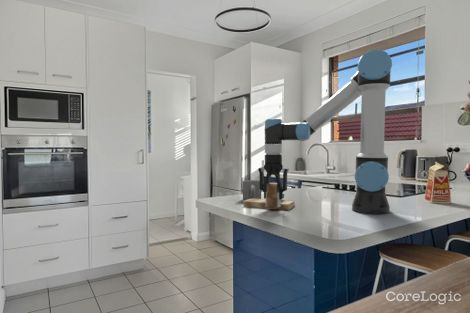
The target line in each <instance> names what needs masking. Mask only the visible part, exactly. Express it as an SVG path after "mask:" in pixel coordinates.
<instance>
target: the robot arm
mask: <svg viewBox="0 0 470 313" xmlns="http://www.w3.org/2000/svg"><path fill="white" fill-rule="evenodd" d="M392 61H393V60H392V59H391V56H390V55H389V53H388V52H386V51H385V50H382V49H379V48H377V49H372V50H368V51H366V52H365V53H363V55H361V56H360V58H359V60H358V62H357V71H356V73H355V74H354V75H353V76H352V77H351V78H350V80H349V82H348V83H347V84H345V85H344V86H343V87H342V88H341V89H339V90H338V91H337V92H336V93H335V94H333V95H332V96H331V97H330V98H329V99H328V100H326V101H325V102H324V103H323V104H322V105H320V106H319V107H318V108H316V109H315V111H313V112H312V113H311V114H310V115H308V116H307V117H306V118H305V119H303V120H302V121H301V122H287V123H286V122H283V120H282V119H281V118H267V119H266V120H265V122H264V153H265V154H264V166H263V167H259V168H258V169H257V170H258V173H259V181H260V190H261V191H263V199H266V207H267V183H271V178H272V176H274V177H275V181H276V183H277V185H278V189H279V192H278V193H277V207H278V208H279V207H281V200H284V198H283V194H284V192H286V191H287V190H288V173H289V171H290V170H289V168H286V167H284V166H283V155H282V152H283V141H299V142H304V141H309V140H310V138H311V136H312V135H313V134H314V133H316V132H317V131H318V130H320V129H321V128H322V127H323V126H324V125H326V124H327V123H328V122H330V121H331V120H332V119H333V118H335V117H336V116H337V115H338V114H340V113H341V112H342V111H343V110H345V109H346V108H347V107H348V106H350V105H351V104H352V103H353V102H355V101H356V100H357V99H359V98H360V96H361V102H360V103H361V108H360V109H361V112H360V114H361V115H360V149H359V151H360V152H359V153H358V154H357V155H356V156H355V171H354V172H355V173H354V180H355V183H356V184H355V185H356V186H355V187H356V189H355V191H356V192H355V195H354V199H353V201H352V204H351V210H352V211H354V212H356V213H357V212H358V213H360V214H361V213H362V214H372V215H373V214H374V215H382V214H389V213H390V212H391V209H390V208H391V207H390V204H389V201H388V198H387V195H386V185H387V183H388V182H389V179H390V178H389V176H390V175H389V170H388V169H389V168H388V167H389V166H388V165H389V156H388V155H387V154H386V153H385V124H386V123H385V121H386V92H387V90H388V89H389V88H390V87H391V72H392V70H391V69H392V66H393V62H392ZM281 171H282V173H283V174H282V180H281V174H280V173H281ZM265 172H266V178H265V177H264V176H265Z"/></svg>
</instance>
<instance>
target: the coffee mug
mask: <svg viewBox="0 0 470 313" xmlns="http://www.w3.org/2000/svg"><path fill="white" fill-rule="evenodd" d="M250 198H257V199H262V190H260V179H258V180H257V179H245V180H242V201H245V200H248V199H250Z"/></svg>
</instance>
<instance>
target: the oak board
mask: <svg viewBox="0 0 470 313" xmlns="http://www.w3.org/2000/svg"><path fill="white" fill-rule="evenodd" d="M242 201H243V207H247V208H256V209H257V208H258V209H267V207H266V199H264V198H261V199H257V198H250V199H248V200H245V201H244V200H242ZM295 206H296V204H295V200H287V199H286V200H284V199H282V200H281V207H280V208H278V209H277V210H285V211H286V210H287V211H290V210H292V208H294V207H295Z"/></svg>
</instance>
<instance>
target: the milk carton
mask: <svg viewBox="0 0 470 313" xmlns="http://www.w3.org/2000/svg"><path fill="white" fill-rule="evenodd" d="M449 178H450V177H449V172H448V170H447V169H445V165H443V164H440V163H439V162H437V161H435V164H434V165H431V166H430V167H429V169H428V177H427V181H426V189H425V192H424V199H423V201H424V202H427V203H429V204H430V203H431V204H442V205H443V204H452V195H451V186H450V185H451V184H450V179H449Z"/></svg>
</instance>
